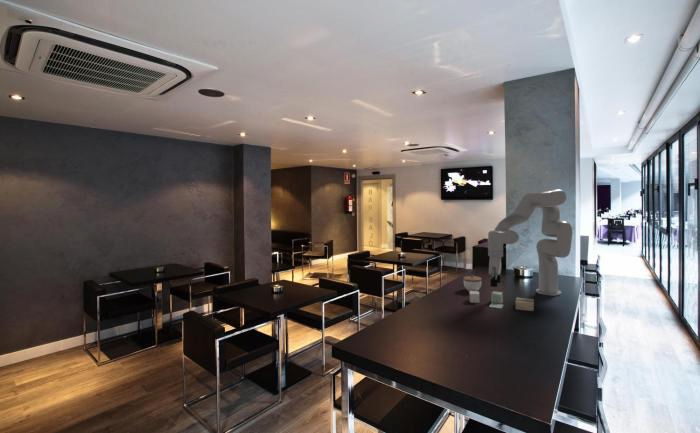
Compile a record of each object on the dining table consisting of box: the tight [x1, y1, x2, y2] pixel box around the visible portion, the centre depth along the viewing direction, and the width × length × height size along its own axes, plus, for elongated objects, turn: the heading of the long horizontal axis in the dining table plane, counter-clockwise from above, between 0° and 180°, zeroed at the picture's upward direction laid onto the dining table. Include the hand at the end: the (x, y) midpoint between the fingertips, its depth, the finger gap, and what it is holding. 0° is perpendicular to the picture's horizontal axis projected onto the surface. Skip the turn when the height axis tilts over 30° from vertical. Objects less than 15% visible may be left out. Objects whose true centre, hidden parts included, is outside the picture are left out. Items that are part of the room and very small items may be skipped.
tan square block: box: [515, 297, 535, 312], centre depth 172 cm, size 8×8×4 cm
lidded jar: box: [462, 275, 482, 292], centre depth 206 cm, size 11×11×9 cm
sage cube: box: [490, 291, 504, 304], centre depth 183 cm, size 5×5×5 cm
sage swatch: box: [488, 303, 504, 310], centre depth 176 cm, size 6×6×1 cm
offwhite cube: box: [468, 290, 480, 304], centre depth 185 cm, size 5×5×5 cm
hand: (495, 284), depth 182 cm, fingers open, 9 cm apart
